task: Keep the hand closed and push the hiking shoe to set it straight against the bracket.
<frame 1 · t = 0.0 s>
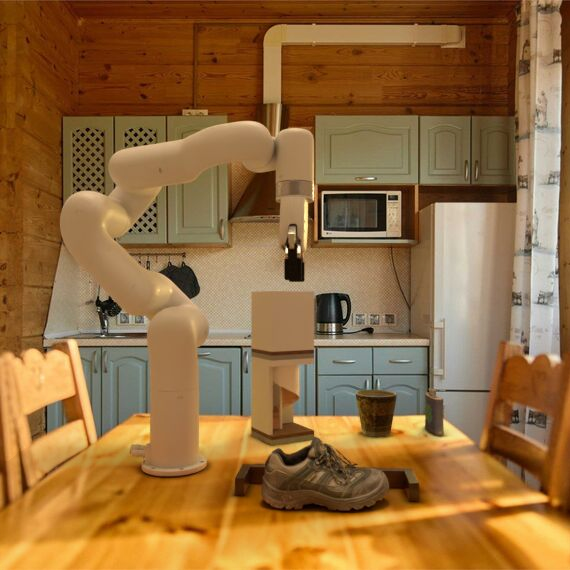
hand: (294, 280, 106), 37 cm above the table, tool pointing down, fingers open, 9 cm apart
cream pedestal stand: (282, 437, 130), on the table
flask: (433, 432, 135), on the table
ceramic cup: (373, 435, 132), on the table
hiking shoe: (325, 503, 88), on the table
bracket: (325, 489, 94), on the table
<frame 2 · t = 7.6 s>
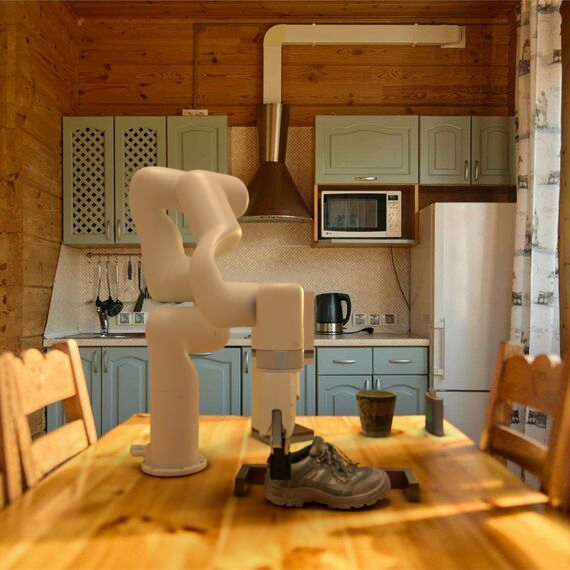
hand: (280, 478, 85), 5 cm above the table, tool pointing down, fingers closed
hiking shoe: (326, 502, 89), on the table, touching gripper
everything else where it was.
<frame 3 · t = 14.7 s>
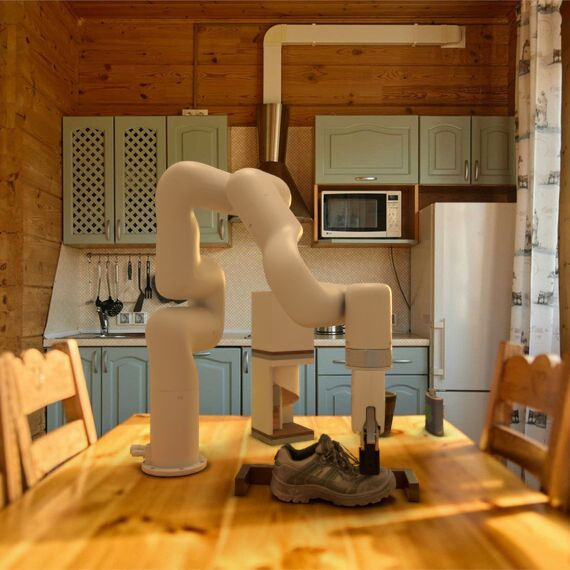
hand: (369, 473, 87), 5 cm above the table, tool pointing down, fingers closed
hiking shoe: (333, 499, 90), on the table, touching gripper
everything else where it was.
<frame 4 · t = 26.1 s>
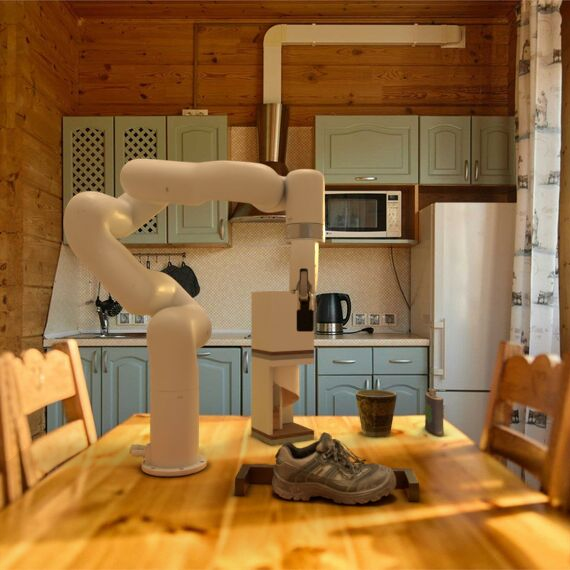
hand: (305, 331, 103), 27 cm above the table, tool pointing down, fingers closed
hiking shoe: (333, 497, 91), on the table
everything else where it was.
at the end: hiking shoe inside the target area (1.5 cm from its centre), on the table; hiking shoe tilted 0° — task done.
